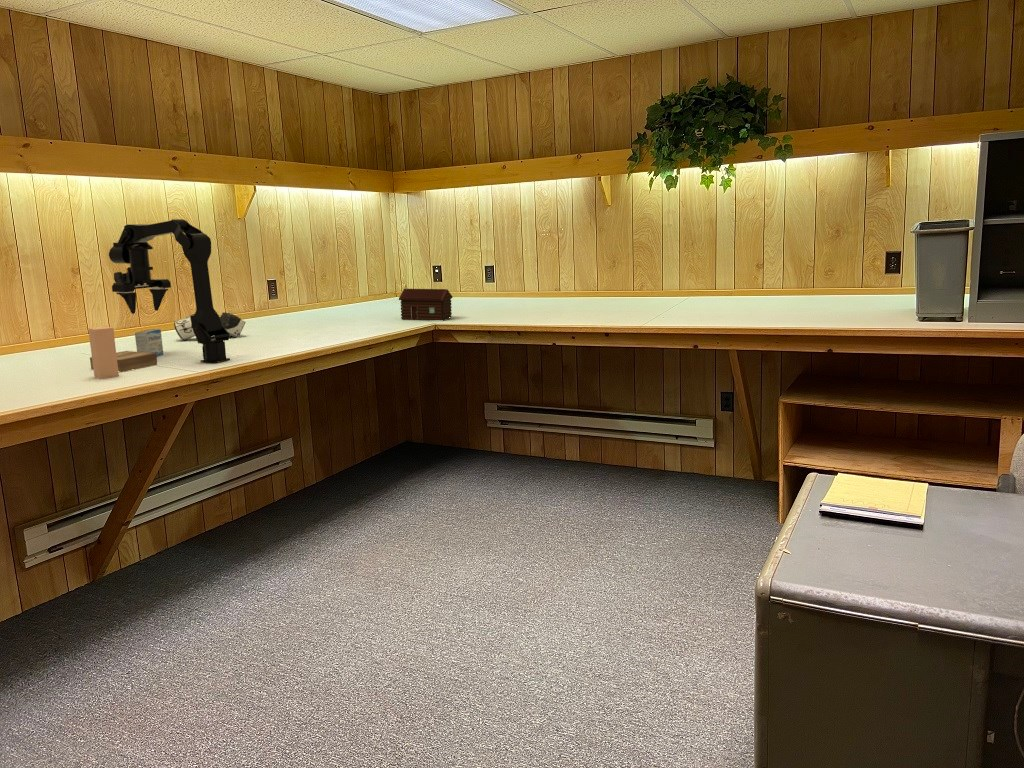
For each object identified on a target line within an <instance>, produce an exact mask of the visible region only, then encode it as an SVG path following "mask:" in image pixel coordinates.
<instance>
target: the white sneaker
mask: <svg viewBox="0 0 1024 768" xmlns="http://www.w3.org/2000/svg"><path fill="white" fill-rule="evenodd" d="M194 314H195V313H192V314H191V315H194ZM191 315H188V316H186V317H183V318H181V319H178V320H176V321H174V323H173V325H174V329H175V332H176V333H177V335H178V337H179V338H180V340H182V341H187V340H189V339H192V338H194V337H196V336H195V334H194V332H193V328H192V329H191V319H190V316H191ZM219 317H220V321H221V325H222V326H223V327H224V328H225V329H226V330H227V332H228V333H229V334H230V336H229V337H231V336H232V338H237V337H238V338H240V336H241V334H242V332H243V329H244V327H245V324H246V323H247V322H246V321H245V320H242V319H241V318H242V317H239V316H237V315H235V314H233V313H231V312H225V311H224V312H222V313H221V315H219ZM238 338H237V339H238Z"/></svg>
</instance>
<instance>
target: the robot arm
mask: <svg viewBox="0 0 1024 768" xmlns="http://www.w3.org/2000/svg"><path fill="white" fill-rule="evenodd" d="M171 234H173V236H174V239H175V241H176V242H177V243H178V244H179V245H180V246H181V249H182V252H183V255H184V256H185V258H186V259H187V260H188V262H189V265H190V270H191V277H192V285H193V291H194V293H193V294H194V299H195V300H194V301H195V306H196V307H195V308H196V310H195V312H194V313H193V314H194V315H192V314H191V316H190V315H189V316H190V319H191V329H192V328H193V332H194V334H195V336H194V337H195V338H196V341H197V344H200V345H202V346H201V347H202V358H203V359H199V360H200V363H209V364H213V363H214V364H217V363H221V362H225V361H230V360H231V358H230V357H227V352H226V351H227V350H226V342H225V341H230V337H231V336H230V334H229V333H228V332H227V330H226V329H225V328H224V327H223V326H222V325H221V321H220V315H219V313H218V312H217V310H216V309H214V304H213V295H212V287H211V280H210V271H209V265H208V261H209V259H210V257H211V255H212V240H211V237H209V235H208V234H206V233H204V232H203V231H202V230H200V229H199V228H197V227H196V226H193V224H190V223H189V222H188V221H187V220H185V219H183V218H182V219H181V218H180V219H178V218H173V219H170V220H166V221H162V222H157V223H151V224H145V223H144V224H143V223H142V224H141V223H140V224H137V223H136V224H132V223H131V224H129V223H128V224H125V225H124V226H123V229H122V232H121V234H120V236H119V239H118V241H117V242H113V243H112V247H110V249H109V252H108V257H109V260H110V261H111V262H112V263H113V264H122V265H123V264H125V265H126V264H129V267H127V269H126V270H127V272H125V273H123V272H122V271H117V272H114V273H113V280H114V282H113V284H112V285H111V289H112V293H116V295H119V296H120V297H122V299H123V300H124V302H125V303H126V304H127V305H126V306H127V307H128V309H129V311H130V313H131V314H133V315H134V314H136V309H137V308H136V307H137V305H136V304H137V292H136V291H135V290H137V289H148V290H149V291H150V293H151V295H152V302H153V304H152V305H153V309H154V311H156V312H157V311H158V310H159V309H160V306H161V304H162V302H163V298H164V297H165V295H166V292H167V291H169V288H172V285H171V284H172V283H171V280H169V279H168V278H167V279H166V278H156V279H155V278H154V279H153V278H152V276H151V275H152V274H151V271H153V270H154V267H153V266H151V265H150V257H149V250H153V249H154V247H153V246H152V245H150V244H149V241H151V240H153V239H154V238H156V237H159V236H164V235H165V236H167V235H171ZM149 288H150V289H149ZM134 291H135V292H134Z"/></svg>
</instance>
